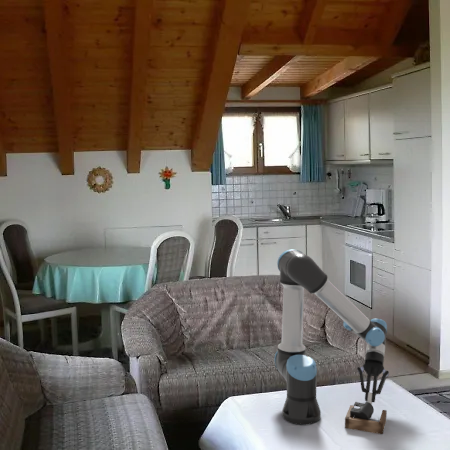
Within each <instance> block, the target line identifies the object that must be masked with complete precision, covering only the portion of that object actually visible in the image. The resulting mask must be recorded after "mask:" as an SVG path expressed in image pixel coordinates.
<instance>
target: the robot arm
mask: <svg viewBox="0 0 450 450" xmlns="http://www.w3.org/2000/svg"><path fill="white" fill-rule="evenodd" d="M277 258H278V259H277V262H276V263H277V269H278V271H279V284H280V285H282V313H281V314H282V317H281V319H282V320H281V321H282V322H281V342H280V343H279V344H278V345H277V351H276V352H275V353H274V354H275V355H274V359H273V361H274V365H275V368H276V370H277V371H278V373H279V374H280V375H281V376H282V377H283V379H284V380H285V381H286V398H285V403H284V404H283V407H282V418H283V419H284V420H285V421H287V422H289V423H290V424H295V425H300V426H303V425H305V426H306V425H312V424H316V423H318V422H319V421H320V420H321V416H322V415H321V413H322V412H321V408H320V405H319V402H318V398H317V373H318V372H317V371H318V369H317V363H316V361H315V360H314V358H312V357H310V356H307V355H306V348H307V347H306V346H305V344H303V333H304V332H303V331H304V330H303V327H304V303H305V301H304V300H305V290H306V291H308V293H309V294H312V295H315V296H316V297H317V298H319V300H321V301H322V302H323V303H324V304H325V305H326V306H327V307H328V308H330V310H332V312H334V313H335V314H336V315H337V316H338V317H339V318H340V319H341V320H342V321H343V322H342V323H343V328H345V329H346V330H348V331H349V332H352V333H353V334H355V335H356V336H358V337H359V338H360V339H362V340H363V341H364V342H365V343H366V349H365V357H364V363H363V365H362V366H361V367H357V369H356V370H357V372H358V374H359V380H360V381H359V382H360V388H361V392H362V393H364V394H365V395H364V401H365V402H369V403H370V404H371V405H372V406H373V403H375V402H376V396H377V395H381V393H382V391H383V388H384V385H385V382H386V379H387V378H388V377H389V375H390V372H389V370H386V369H385V367H384V361H385V353H386V352H385V351H386V341H387V333H388V324H387V322H386V321H385V320H383V319H381V318H372V319H370V318H369V317H367V316H366V315H365V313H364V312H362V311H361V310H360V309H359V308H358V307H357V305H355V304H354V303H353V302H352V301H351V300H350V299H349V298H347V296H346V295H345V294H344V293H342V292H341V291H340V290H339V289H338V288H337V287H336V286H335V285H334V284H333V283H332V282H331V281H330V279H329V276H328V275H327V273H325V271H324V270H322V268H321V267H320V266H319V265H318V263H316V262H315V260H314V259H313V258H312V257H310V256H309V255H308V254H306V253H303V252H302V251H300V250H298V249H291V248H290V249H287V250H284V251H283V252H282V253H280V255H279V257H277ZM364 371H365V374H366V376H367V377H366V385H365V381H364V374H363V373H364ZM381 374H382V376H381V378H380V382H379V384H378V377H379V376H380V375H381ZM372 377H373V381H372ZM371 381H372V382H371ZM371 383H372V389H371ZM377 386H378V387H377ZM370 389H371V390H370ZM370 391H371V392H370Z"/></svg>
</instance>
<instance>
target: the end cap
mask: <svg viewBox="0 0 450 450" xmlns="http://www.w3.org/2000/svg"><path fill="white" fill-rule="evenodd" d="M353 406H354V408H352V409H351V410H350V415H351V416H354V417H353V418H358V419H365V420H371V418H372V417H373V414H374V411H375V409H374V406H373V404H372V405H371V404H370V403H369V402H367V401H365V402H357V401H355V402H354V404H353Z"/></svg>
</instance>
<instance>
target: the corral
mask: <svg viewBox="0 0 450 450" xmlns="http://www.w3.org/2000/svg"><path fill="white" fill-rule="evenodd" d="M352 408H355V406H354V404H352V405H349V407H348V410H347V412H346V415H345V418H344V429H348V430H353V431H359V432H360V431H361V432H365V433H372V434H376V435H377V434H379V435H383V434H384V430H385V426H386V423H387V409H386V410H385V409H382V412H381V415H380V419H379V421H377V420H371V419H370V420H365V419H358V418H354V416H351V415H350V410H351V409H352Z"/></svg>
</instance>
